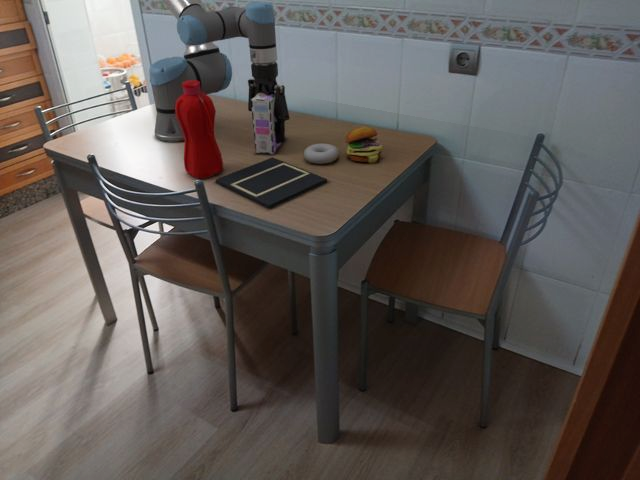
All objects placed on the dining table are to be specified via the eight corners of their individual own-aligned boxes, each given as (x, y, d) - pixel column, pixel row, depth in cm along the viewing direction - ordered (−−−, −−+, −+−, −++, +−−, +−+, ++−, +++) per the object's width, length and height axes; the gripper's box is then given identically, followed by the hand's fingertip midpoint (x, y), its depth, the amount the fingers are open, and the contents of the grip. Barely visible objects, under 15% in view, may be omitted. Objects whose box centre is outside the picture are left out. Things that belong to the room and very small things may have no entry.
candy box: (273, 155, 154) (269, 99, 145) (254, 153, 155) (249, 99, 146) (285, 138, 165) (282, 86, 157) (268, 137, 166) (264, 85, 158)
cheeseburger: (359, 167, 144) (354, 131, 141) (340, 163, 153) (336, 129, 150) (389, 159, 148) (385, 124, 145) (369, 155, 157) (365, 122, 154)
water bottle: (205, 184, 138) (190, 89, 125) (181, 173, 145) (164, 82, 131) (232, 173, 144) (220, 81, 131) (208, 162, 150) (195, 74, 137)
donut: (297, 162, 149) (327, 168, 144) (296, 151, 147) (326, 156, 143) (316, 150, 156) (345, 156, 152) (315, 139, 155) (344, 144, 150)
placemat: (215, 182, 139) (215, 179, 138) (272, 160, 151) (272, 156, 150) (269, 209, 125) (268, 205, 125) (327, 182, 137) (327, 178, 137)
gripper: (230, 59, 151) (238, 133, 163) (279, 70, 138) (284, 150, 150) (250, 54, 156) (257, 127, 168) (299, 65, 143) (303, 143, 155)
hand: (270, 138), depth 159 cm, fingers closed on candy box, 9 cm apart
